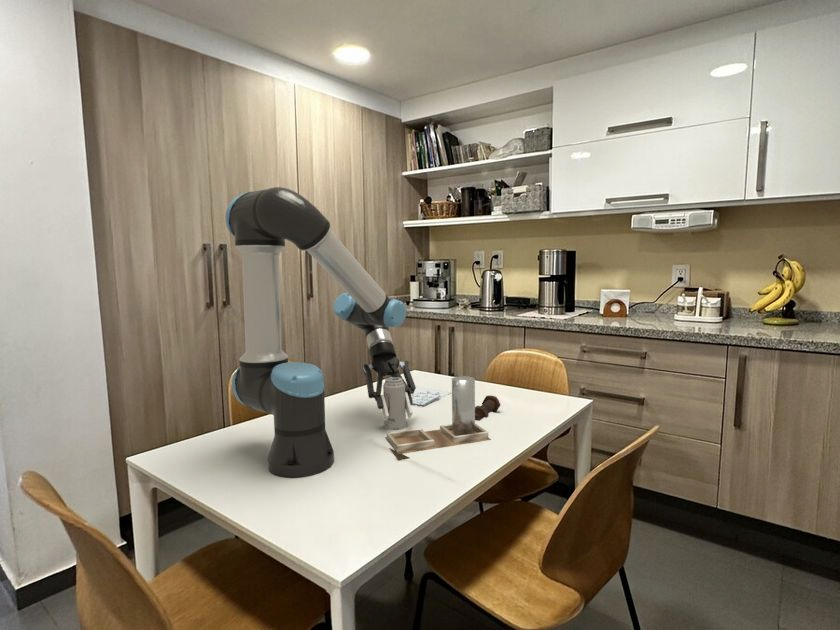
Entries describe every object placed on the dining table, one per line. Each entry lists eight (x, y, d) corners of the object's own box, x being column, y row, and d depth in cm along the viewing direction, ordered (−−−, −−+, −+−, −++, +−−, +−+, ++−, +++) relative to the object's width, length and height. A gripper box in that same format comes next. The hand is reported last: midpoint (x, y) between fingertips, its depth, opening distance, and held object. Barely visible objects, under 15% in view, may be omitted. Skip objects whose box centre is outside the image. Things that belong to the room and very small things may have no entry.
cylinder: (463, 440, 122) (463, 383, 120) (447, 434, 126) (446, 378, 125) (479, 434, 125) (479, 379, 124) (463, 428, 130) (463, 375, 128)
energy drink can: (380, 431, 134) (378, 378, 132) (398, 426, 137) (396, 375, 136) (392, 437, 129) (390, 383, 127) (410, 432, 133) (409, 379, 131)
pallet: (398, 460, 114) (398, 448, 113) (384, 442, 125) (384, 431, 125) (491, 445, 122) (491, 433, 122) (470, 430, 133) (470, 419, 133)
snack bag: (378, 400, 166) (378, 394, 166) (412, 387, 183) (412, 382, 182) (422, 409, 155) (422, 402, 155) (455, 394, 172) (455, 389, 171)
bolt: (472, 431, 138) (490, 414, 151) (486, 424, 136) (503, 408, 149) (462, 412, 139) (481, 398, 152) (476, 406, 137) (494, 392, 150)
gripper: (408, 352, 149) (428, 419, 135) (348, 357, 142) (362, 427, 129) (413, 338, 143) (434, 405, 130) (351, 342, 137) (366, 414, 123)
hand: (398, 416), depth 129 cm, fingers closed on energy drink can, 6 cm apart
